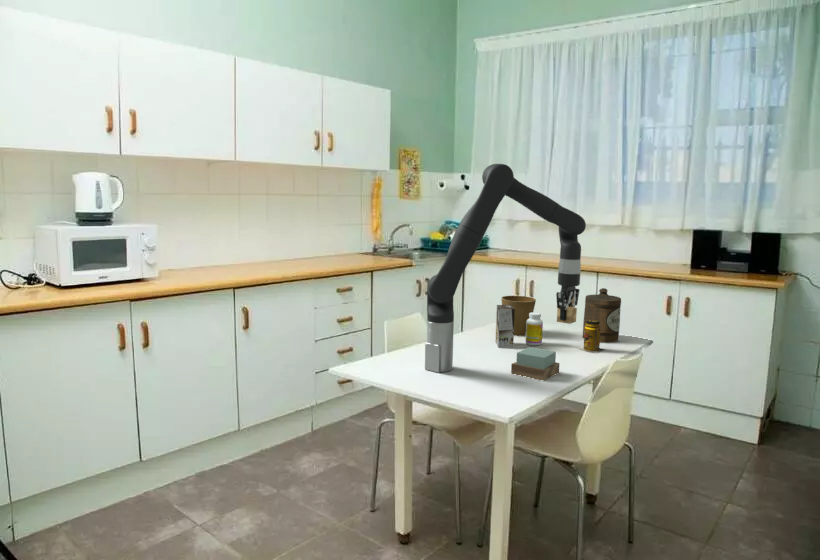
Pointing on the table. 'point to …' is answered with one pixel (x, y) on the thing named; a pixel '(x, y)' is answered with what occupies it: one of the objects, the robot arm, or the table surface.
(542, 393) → the table surface
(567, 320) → the oak block
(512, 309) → the coffee box
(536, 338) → the supplement bottle
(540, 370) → the tower bottom slab
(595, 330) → the condiment
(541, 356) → the tower top slab
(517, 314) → the plant pot
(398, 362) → the table surface
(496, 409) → the table surface
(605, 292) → the wooden container
